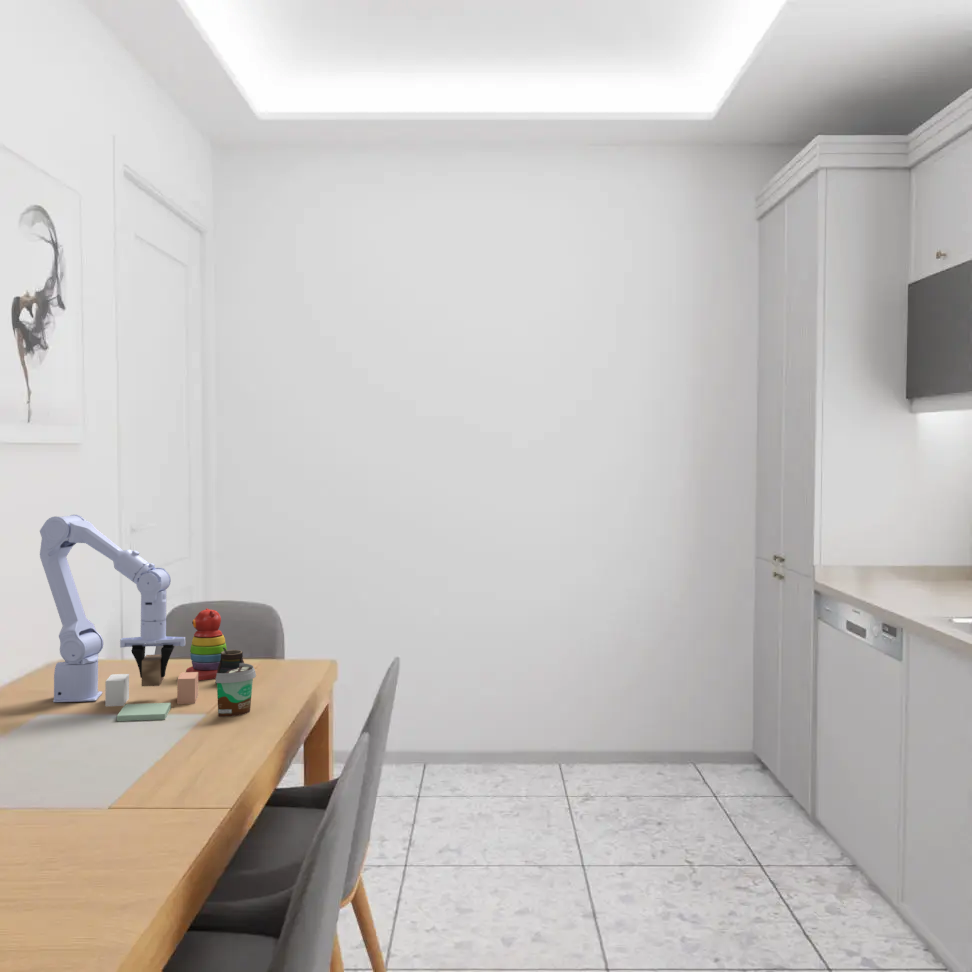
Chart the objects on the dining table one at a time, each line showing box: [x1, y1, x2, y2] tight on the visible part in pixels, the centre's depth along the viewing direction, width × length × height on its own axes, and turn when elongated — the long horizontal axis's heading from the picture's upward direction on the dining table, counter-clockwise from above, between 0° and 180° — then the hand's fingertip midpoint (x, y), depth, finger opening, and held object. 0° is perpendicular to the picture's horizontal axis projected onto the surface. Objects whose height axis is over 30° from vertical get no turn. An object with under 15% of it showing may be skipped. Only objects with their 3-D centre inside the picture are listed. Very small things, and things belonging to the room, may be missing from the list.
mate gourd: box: [217, 648, 245, 673], centre depth 241 cm, size 7×8×10 cm
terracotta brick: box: [176, 671, 199, 705], centre depth 223 cm, size 4×7×6 cm, turn 12°
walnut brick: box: [141, 654, 165, 687], centre depth 221 cm, size 4×7×6 cm, turn 11°
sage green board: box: [116, 702, 172, 722], centre depth 209 cm, size 10×10×1 cm
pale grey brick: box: [104, 673, 130, 707], centre depth 219 cm, size 4×7×6 cm, turn 12°
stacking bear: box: [185, 607, 228, 682], centre depth 248 cm, size 11×10×18 cm
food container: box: [215, 662, 257, 718], centre depth 212 cm, size 12×6×10 cm, turn 168°
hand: (152, 676), depth 221 cm, fingers closed on walnut brick, 4 cm apart
